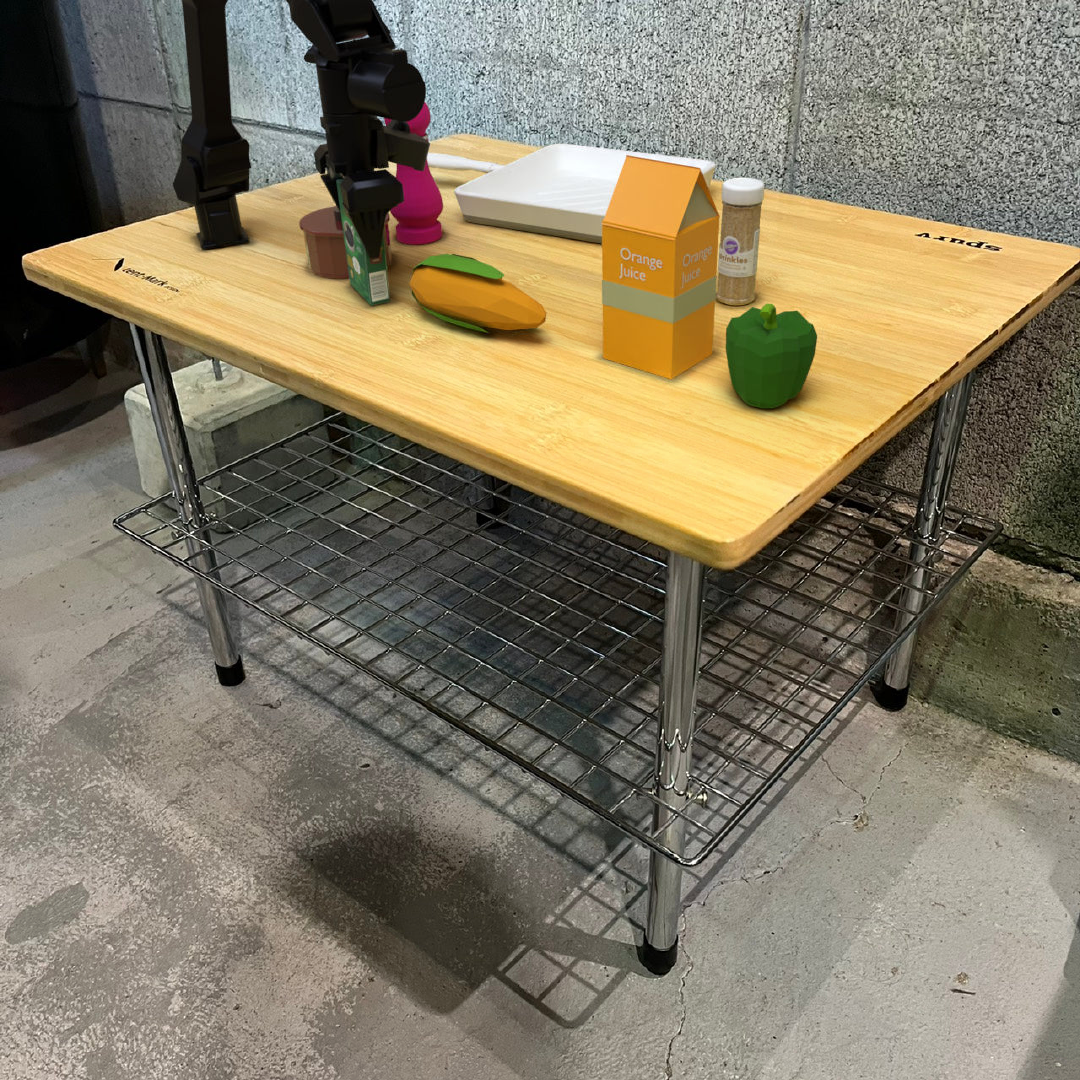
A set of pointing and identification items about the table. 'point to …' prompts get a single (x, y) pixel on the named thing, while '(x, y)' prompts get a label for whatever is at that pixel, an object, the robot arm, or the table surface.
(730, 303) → the sprinkles bottle
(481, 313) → the corn
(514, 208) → the pan
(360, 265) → the coffee box
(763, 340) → the bell pepper
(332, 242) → the pot
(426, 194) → the pepper mill
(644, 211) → the orange juice
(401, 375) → the table surface
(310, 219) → the pot lid
